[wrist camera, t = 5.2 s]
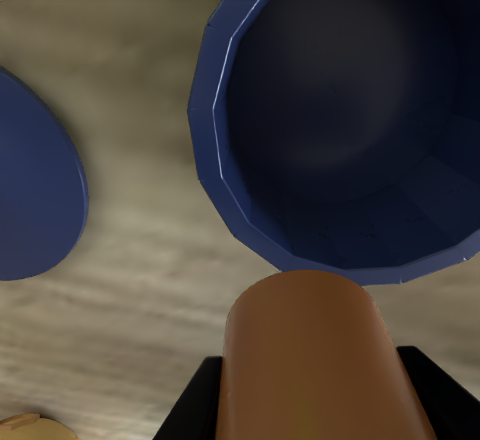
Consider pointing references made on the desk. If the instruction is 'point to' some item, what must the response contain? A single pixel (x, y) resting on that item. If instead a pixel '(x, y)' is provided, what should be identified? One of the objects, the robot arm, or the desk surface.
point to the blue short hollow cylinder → (343, 132)
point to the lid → (36, 184)
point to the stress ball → (34, 429)
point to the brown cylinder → (313, 366)
